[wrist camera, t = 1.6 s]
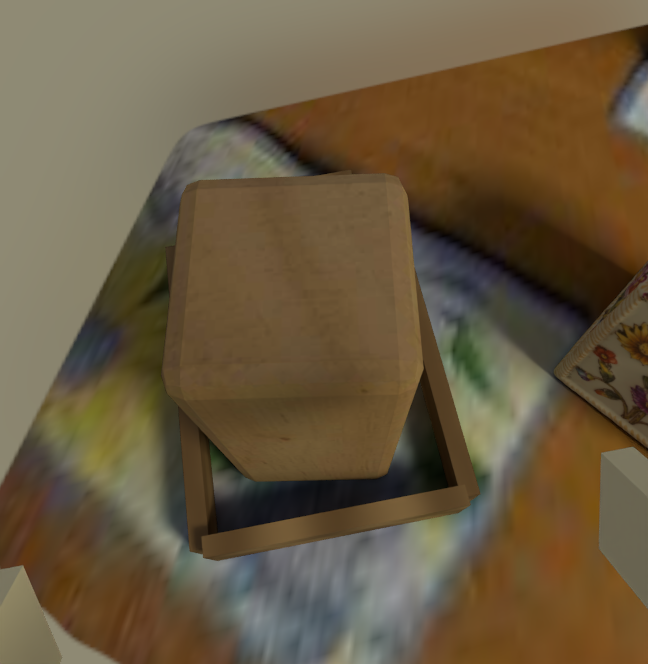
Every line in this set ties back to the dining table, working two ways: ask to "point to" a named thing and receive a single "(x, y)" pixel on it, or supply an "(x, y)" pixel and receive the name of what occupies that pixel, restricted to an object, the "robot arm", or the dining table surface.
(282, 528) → the bay
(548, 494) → the dining table surface
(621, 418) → the decorative jar
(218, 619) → the dining table surface
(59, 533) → the dining table surface
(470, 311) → the dining table surface
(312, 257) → the wooden block
